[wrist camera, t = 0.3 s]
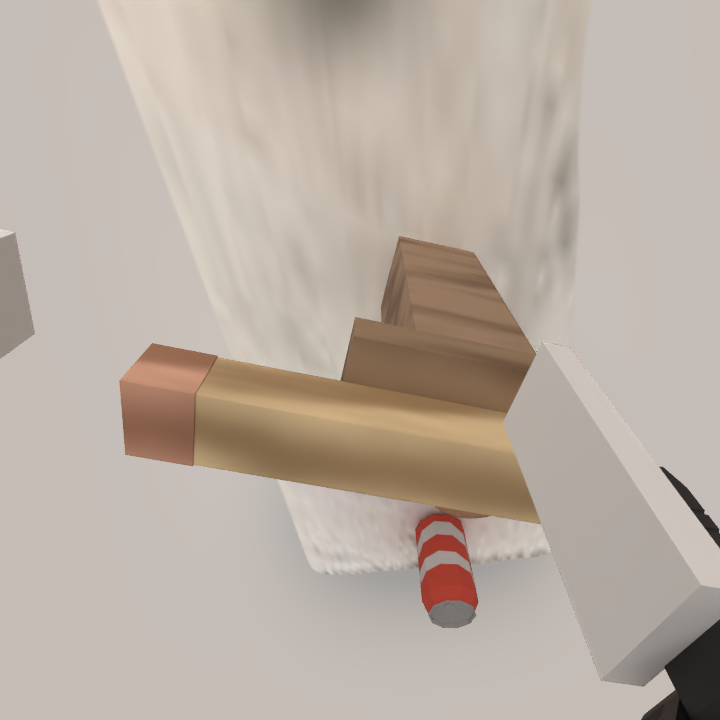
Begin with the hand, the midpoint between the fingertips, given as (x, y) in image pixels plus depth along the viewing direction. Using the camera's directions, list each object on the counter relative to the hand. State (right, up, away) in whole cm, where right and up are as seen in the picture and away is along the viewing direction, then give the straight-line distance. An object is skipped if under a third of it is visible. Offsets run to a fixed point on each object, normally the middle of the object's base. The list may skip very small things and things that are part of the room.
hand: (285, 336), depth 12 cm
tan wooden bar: (+4, -4, +11) cm, 12 cm away
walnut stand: (+7, +7, +31) cm, 32 cm away
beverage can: (+13, -23, +49) cm, 55 cm away
